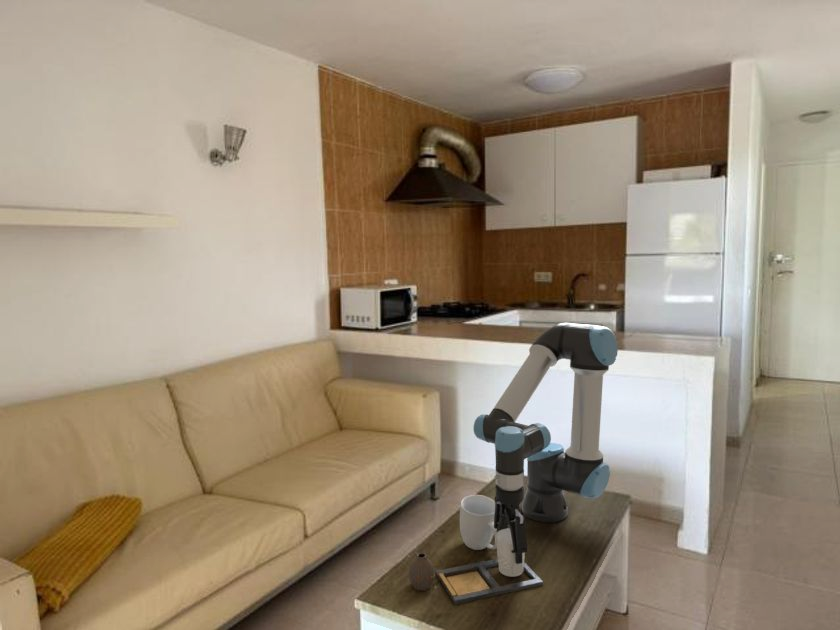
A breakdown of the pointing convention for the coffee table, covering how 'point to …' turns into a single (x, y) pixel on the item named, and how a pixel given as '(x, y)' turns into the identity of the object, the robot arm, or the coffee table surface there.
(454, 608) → the coffee table surface
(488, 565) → the grey double frame
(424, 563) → the vase
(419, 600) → the coffee table surface
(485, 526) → the mug
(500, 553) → the white cup
